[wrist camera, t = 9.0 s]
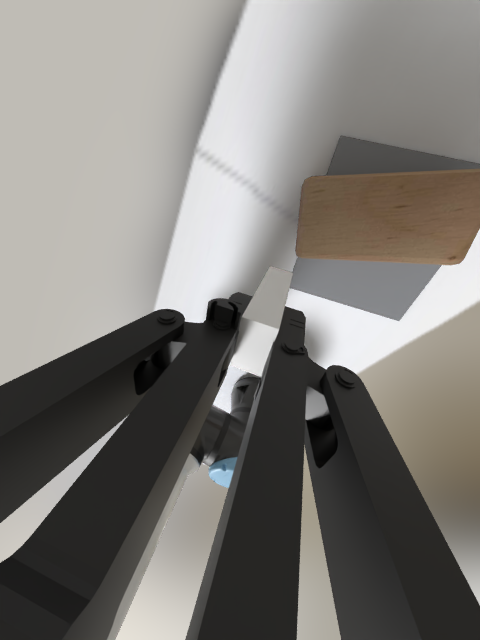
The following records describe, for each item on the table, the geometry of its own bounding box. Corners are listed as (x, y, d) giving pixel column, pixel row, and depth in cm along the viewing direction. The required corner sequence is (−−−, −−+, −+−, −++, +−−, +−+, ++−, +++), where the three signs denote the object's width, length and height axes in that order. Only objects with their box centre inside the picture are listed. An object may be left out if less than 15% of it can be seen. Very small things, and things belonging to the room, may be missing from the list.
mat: (398, 319, 42) (398, 321, 41) (287, 286, 44) (287, 287, 44) (510, 171, 28) (513, 170, 28) (340, 136, 31) (340, 135, 30)
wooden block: (294, 259, 31) (464, 268, 26) (302, 176, 26) (517, 166, 21) (298, 244, 39) (428, 248, 34) (305, 178, 34) (460, 171, 29)
